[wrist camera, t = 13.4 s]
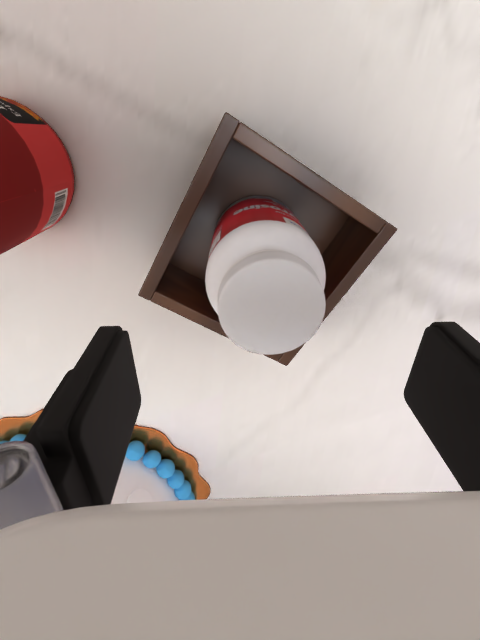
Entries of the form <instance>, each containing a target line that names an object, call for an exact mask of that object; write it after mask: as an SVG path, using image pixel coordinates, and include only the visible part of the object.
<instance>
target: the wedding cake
mask: <svg viewBox="0 0 480 640" xmlns="http://www.w3.org/2000/svg"><path fill="white" fill-rule="evenodd" d="M42 411H43V410H40V411H38V412H36V413H35V414H33V415H31V416H28V417H23V418H14V417H11V418H3V419H0V444H2V443H5V442H10V441H23V440H24V439H25V437H26V436H27V434H28V433H29V431H30V430H31V428H32V426H33V425H34V423H35V422H36V420H37V419H38V417H39V415H40V414H41V412H42ZM209 494H210V487H209V485H208V483H207V482H206V481H205V480H203V479H202V478H201V477H200V475H199V473H198V464H197V461H196V460H195V458H194V457H192V456H191V455H189V454H188V453H186V452H183V451H181V450H179V449H177V448H175V447H174V446H173V445H172V444H171V443H170V441H169V440H168V438H167V437H166V436H165V435H164V434H163V433H161V432H160V431H158V430H155V429H152V428H147V427H140V426H134V429H133V432H132V436H131V439H130V442H129V445H128V449H127V452H126V455H125V459H124V462H123V465H122V468H121V472H120V475H119V478H118V482H117V485H116V488H115V491H114V495H113V498H112V501H111V504H122V503H141V502H159V501H178V500H203V499H207V498H208V496H209Z"/></svg>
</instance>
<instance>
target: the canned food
mask: <svg viewBox="0 0 480 640" xmlns="http://www.w3.org/2000/svg"><path fill="white" fill-rule="evenodd" d="M73 192H74V173H73V167H72V164H71V161H70V158H69V155H68V153H67V151H66V149H65V147H64V145H63V143H62V141H61V140H60V138H59V137H58V136H57V134H56V133H55V132H54V130H53V129H52V128H51V127H50V126H49V125H48V124H47V123H46V122H45V121H44V120H43V119H42V118H40V117H39V116H38V115H36V114H35V113H34V112H32V111H31V110H30V109H28V108H27V107H25V106H23V105H22V104H20V103H18V102H16V101H14V100H11V99H8V98H4V97H1V96H0V254H2V253H4V252H6V251H8V250H9V249H11V248H13V247H15V246H17V245H19V244H21V243H22V242H24V241H26V240H28V239H30V238H32V237H34V236H35V235H37V234H39V233H41V232H43V231H45V230H47V229H48V228H50V227H52V226H53V225H55V224H56V223H57V222H59V221H60V220H61V219H62V217H63V216H64V215H65V214H66V212H67V210H68V207H69V205H70V203H71V201H72V197H73Z"/></svg>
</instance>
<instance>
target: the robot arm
mask: <svg viewBox="0 0 480 640" xmlns="http://www.w3.org/2000/svg"><path fill="white" fill-rule="evenodd" d="M404 398H405V401H406V403H407V404H408V406H409V407H410V409H411V410H412V412H413V414H414V415H415V417H416V418H417V420H418V421H419V423H420V424H421V426H422V427H423V429H424V431H425V432H426V434H427V435H428V437H429V438H430V440H431V441H432V443H433V445H434V446H435V448H436V449H437V451H438V452H439V454H440V455H441V457H442V458H443V460H444V462H445V463H446V465H447V466H448V468H449V469H450V471H451V472H452V474H453V475H454V477H455V479H456V480H457V482H458V483H459V485H460V486H461V488H462V489H463V491H457V492H418V493H382V494H349V495H317V496H286V497H258V498H231V499H203V500H178V501H159V502H141V503H122V504H111V501H112V498H113V495H114V491H115V488H116V485H117V482H118V478H119V475H120V472H121V468H122V465H123V462H124V459H125V455H126V452H127V449H128V445H129V442H130V439H131V436H132V432H133V429H134V426H135V422H136V419H137V416H138V413H139V409H140V405H141V394H140V389H139V384H138V379H137V374H136V369H135V364H134V359H133V354H132V349H131V344H130V339H129V334H128V332H127V331H122V328H121V327H120V326H102V327H100V328H99V329H98V330H97V332H96V334H95V335H94V337H93V338H92V340H91V342H90V343H89V345H88V346H87V348H86V350H85V351H84V353H83V354H82V356H81V358H80V359H79V361H78V362H77V364H76V366H75V367H74V369H72V370H69V371H68V372H67V374H66V375H65V376H64V378H63V380H62V381H61V383H60V384H59V386H58V387H57V389H56V391H55V392H54V394H53V395H52V397H51V398H50V400H49V401H48V403H47V405H46V406H45V408H44V409H43V411H42V412H41V414H40V415H39V417H38V419H37V420H36V422H35V423H34V425H33V426H32V428H31V430H30V431H29V433H28V434H27V436H26V437H25V439H24V440H23V441H10V442H5V443H2V444H0V640H480V343H479V342H478V341H477V340H475V339H474V338H473V337H472V336H471V335H470V334H469V333H467V332H466V331H465V330H464V329H463V328H462V327H460V326H459V325H458V324H457V323H455V322H434V323H432V324H431V325H430V327H427V328H426V329H425V331H424V334H423V337H422V340H421V343H420V346H419V349H418V352H417V354H416V357H415V360H414V363H413V366H412V369H411V372H410V375H409V378H408V381H407V383H406V386H405V389H404Z"/></svg>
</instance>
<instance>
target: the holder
mask: <svg viewBox="0 0 480 640" xmlns="http://www.w3.org/2000/svg"><path fill="white" fill-rule="evenodd" d="M249 196H266V197H270V198H273V199H276V200H278V201H280V202H282V203H283V204H284V205H286V206H287V207H288V208H289V209H290V210H291V211H292V212H293V214H294V215H295V216H296V218H297V219H298V220H299V222H300V223H301V225H302V226H303V227H304V229H305V230H306V232H307V233H308V235H309V236H310V237H311V239H312V240H313V241H314V243H315V244H316V246H317V248H318V250H319V251H320V254H321V256H322V258H323V262H324V265H325V273H326V281H325V288H324V295H325V302H326V307H325V314H324V318H323V321H324V319H325V318H326V317H327V316H328V314H329V313H330V312H331V311H332V310H333V308H334V307H335V306H336V305H337V303H338V302H339V301H340V300H341V298H342V297H343V296H344V295H345V294H346V292H347V291H348V290H349V289H350V287H351V286H352V285H353V284H354V282H355V281H356V280H357V279H358V277H359V276H360V275H361V274H362V273H363V271H364V270H365V269H366V268H367V266H368V265H369V264H370V263H371V261H372V260H373V259H374V258H375V256H376V255H377V254H378V253H379V252H380V250H381V249H382V248H383V247H384V245H385V244H386V243H387V242H388V240H389V239H390V238H391V237H392V236H393V234H394V233H395V232H396V231H397V228H396V227H394V226H393V225H391V224H390V223H388V222H387V221H385V220H384V219H382V218H381V217H379V216H378V215H376V214H375V213H374V212H372V211H371V210H369V209H368V208H366V207H365V206H363V205H362V204H360V203H359V202H357V201H356V200H354V199H353V198H352V197H350V196H349V195H347V194H346V193H344V192H343V191H341V190H340V189H338V188H337V187H335V186H334V185H332V184H331V183H330V182H328V181H327V180H325V179H324V178H322V177H321V176H319V175H318V174H316V173H315V172H313V171H312V170H311V169H309V168H308V167H306V166H305V165H303V164H302V163H300V162H299V161H297V160H296V159H294V158H293V157H291V156H290V155H289V154H287V153H286V152H284V151H283V150H281V149H280V148H278V147H277V146H275V145H274V144H272V143H271V142H269V141H268V140H267V139H265V138H264V137H262V136H261V135H259V134H258V133H256V132H255V131H253V130H252V129H250V128H249V127H248V126H246V125H245V124H243V123H241V122H240V123H239V120H237V119H236V118H234V117H233V116H231V115H230V114H229V113H227V112H226V113H225V114H224V116H223V118H222V120H221V122H220V124H219V126H218V129H217V131H216V133H215V135H214V137H213V139H212V141H211V143H210V145H209V147H208V149H207V152H206V154H205V156H204V158H203V160H202V162H201V164H200V166H199V168H198V170H197V173H196V175H195V177H194V179H193V181H192V183H191V185H190V187H189V189H188V191H187V193H186V196H185V198H184V200H183V202H182V204H181V206H180V208H179V210H178V212H177V214H176V217H175V219H174V221H173V223H172V225H171V227H170V229H169V231H168V233H167V235H166V237H165V240H164V242H163V244H162V246H161V248H160V250H159V252H158V254H157V256H156V258H155V261H154V263H153V265H152V267H151V269H150V271H149V273H148V275H147V277H146V279H145V281H144V284H143V286H142V288H141V290H140V292H139V294H138V295H139V296H141V297H143V298H145V299H147V300H151V301H152V302H154V303H156V304H158V305H160V306H162V307H164V308H166V309H168V310H171V311H173V312H175V313H177V314H179V315H181V316H183V317H185V318H187V319H189V320H191V321H194V322H196V323H198V324H200V325H202V326H204V327H206V328H208V329H210V330H212V331H215V332H217V333H219V334H221V335H223V336H225V337H227V338H229V337H228V336H227V335H226V334H225V332H224V330H223V329H222V327H221V324H220V321H219V317H218V314H217V313H216V312H215V310H214V309H213V307H212V305H211V303H210V301H209V299H208V295H207V292H206V285H205V275H206V267H207V262H208V257H209V252H210V248H211V243H212V239H213V234H214V230H215V227H216V224H217V222H218V220H219V218H220V216H221V215H222V213H223V212H224V211H225V210H226V209H227V208H228V207H229V206H230V205H231V204H233V203H234V202H236V201H238V200H240V199H243V198H245V197H249ZM323 321H322V322H323ZM304 344H305V343H304ZM304 344H303V345H304ZM303 345H301V346H299V347H298V348H296V349H294V350H292V351H288V352H285V353H280V354H273V355H265V356H267V357H269V358H271V359H273V360H275V361H278V362H279V363H281V364H284V365H286V366H287V365H288V364H289V363H290V361H291V360H292V359H293V358H294V356H295V355H296V354H297V353H298V352H299V350H300V349H301V348H302V347H303ZM263 355H264V354H263Z"/></svg>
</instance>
